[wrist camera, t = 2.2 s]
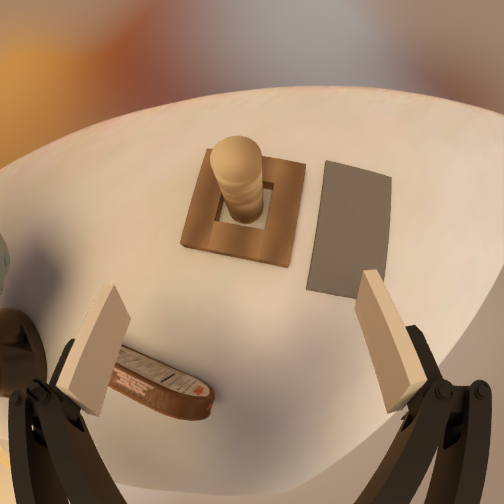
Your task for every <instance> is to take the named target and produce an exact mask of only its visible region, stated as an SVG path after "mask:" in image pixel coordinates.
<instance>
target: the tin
mask: <svg viewBox="0 0 504 504" xmlns="http://www.w3.org/2000/svg"><path fill="white" fill-rule="evenodd" d="M108 386H109V387H111V388H113V389H114V390H116V391H118V392H120V393H122V394H124V395H125V396H127V397H129V398H131V399H133V400H135V401H137V402H139V403H141V404H143V405H145V406H147V407H149V408H151V409H153V410H155V411H157V412H159V413H162V414H164V415H167V416H170V417H173V418H177V419H182V420H190V421H197V420H203V419H206V418H207V417H209V415H210V413H211V411H210V410H211V407H212V404H213V402H214V398H215V395H214V391H213V389H212V388H211V387H210V386H209V385H207V384H206V383H205V382H203V381H201V380H199V379H198V378H196V377H193V376H191V375H189V374H186V373H184V372H182V371H179V370H177V369H175V368H172V367H170V366H168V365H166V364H163V363H161V362H159V361H157V360H155V359H152V358H150V357H148V356H146V355H144V354H142V353H139V352H137V351H135V350H133V349H130V348H128V347H125V346H122V345H121V348H120V351H119V353H118V356H117V359H116V362H115V365H114V368H113V371H112V375H111V378H110V381H109V384H108Z"/></svg>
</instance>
